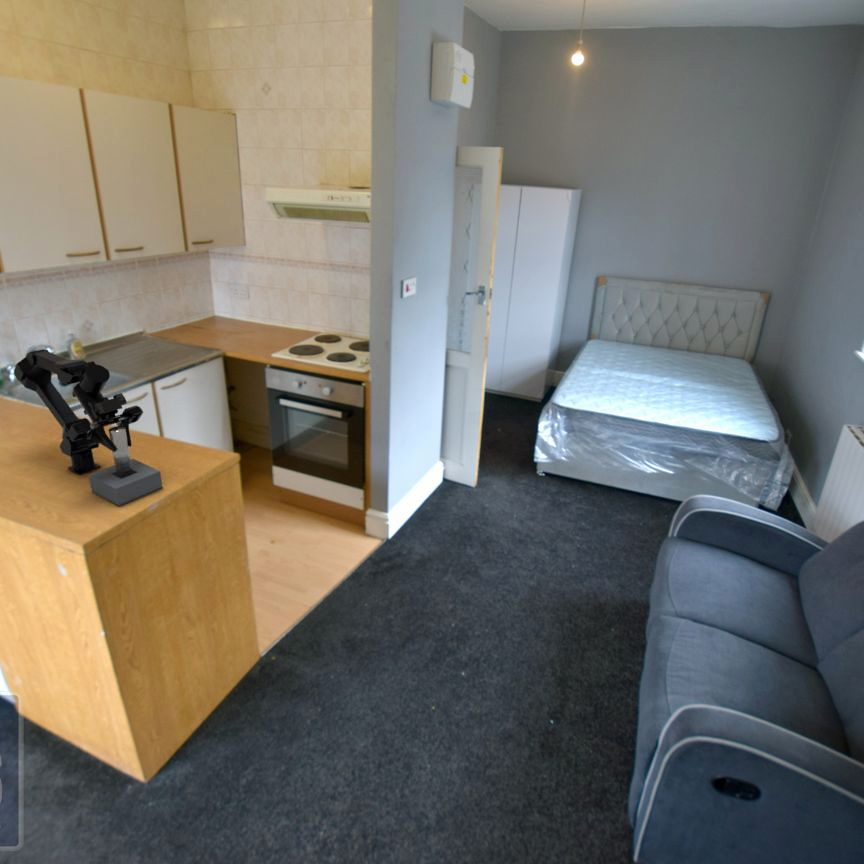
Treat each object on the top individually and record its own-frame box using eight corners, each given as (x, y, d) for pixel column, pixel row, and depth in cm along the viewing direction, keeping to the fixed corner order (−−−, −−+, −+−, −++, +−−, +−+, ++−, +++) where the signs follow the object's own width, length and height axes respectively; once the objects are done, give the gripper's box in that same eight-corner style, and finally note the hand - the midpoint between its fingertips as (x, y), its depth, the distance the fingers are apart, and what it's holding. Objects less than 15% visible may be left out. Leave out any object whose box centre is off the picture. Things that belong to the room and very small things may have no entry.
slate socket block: (91, 492, 161) (88, 474, 159) (135, 475, 171) (132, 458, 169) (119, 506, 155) (115, 488, 152) (162, 488, 165) (160, 471, 163)
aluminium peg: (112, 471, 158) (105, 431, 154) (120, 465, 162) (113, 425, 157) (127, 472, 158) (120, 432, 154) (134, 465, 162) (128, 426, 157)
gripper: (65, 395, 145) (97, 446, 145) (134, 378, 160) (164, 424, 159) (54, 416, 152) (85, 465, 151) (122, 398, 167) (150, 442, 166)
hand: (123, 448), depth 157 cm, fingers closed on aluminium peg, 4 cm apart
